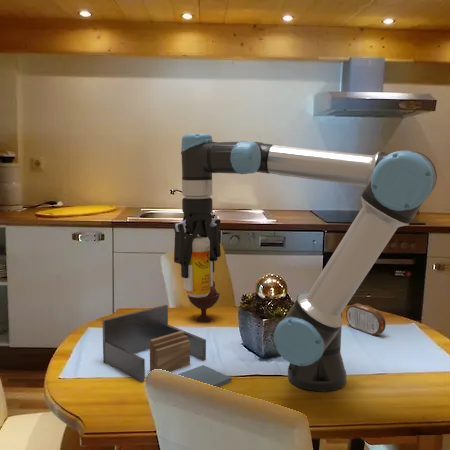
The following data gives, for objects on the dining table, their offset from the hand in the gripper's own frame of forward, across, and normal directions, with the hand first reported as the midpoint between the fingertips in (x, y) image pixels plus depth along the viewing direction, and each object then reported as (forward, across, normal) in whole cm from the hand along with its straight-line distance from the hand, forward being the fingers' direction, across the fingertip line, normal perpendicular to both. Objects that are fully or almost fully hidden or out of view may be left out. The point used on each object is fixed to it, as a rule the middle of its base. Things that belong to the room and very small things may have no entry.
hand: (198, 287), depth 137 cm
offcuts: (+24, +1, -11) cm, 27 cm away
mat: (+24, 0, +1) cm, 25 cm away
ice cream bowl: (+24, -32, -36) cm, 54 cm away
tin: (+25, -65, +8) cm, 70 cm away
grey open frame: (+24, +1, -18) cm, 30 cm away
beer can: (+2, 0, 0) cm, 2 cm away
